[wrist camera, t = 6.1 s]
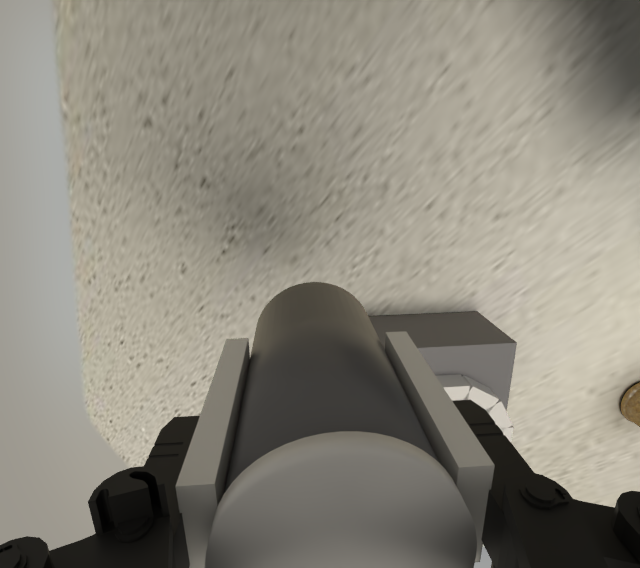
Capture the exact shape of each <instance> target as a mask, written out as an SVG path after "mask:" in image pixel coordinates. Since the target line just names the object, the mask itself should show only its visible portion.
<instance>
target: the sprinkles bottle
mask: <svg viewBox="0 0 640 568" xmlns="http://www.w3.org/2000/svg"><path fill="white" fill-rule="evenodd" d="M621 411H622V414H623V415H624V416H625V418H626V419H628V420H629V421H631V422H634V423H635V424H637V425H638V426H639V427H640V383H638V384H636V385H634V386H633V387H631V388H630V389H629V390H628V391H627V392H626V394H625V395H624V397H623V399H622V402H621Z"/></svg>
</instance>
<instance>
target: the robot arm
mask: <svg viewBox="0 0 640 568" xmlns="http://www.w3.org/2000/svg"><path fill="white" fill-rule="evenodd" d="M385 352H386V354H387V356H388V358H389V360H390V362H391V364H392V366H393V368H394V370H395V372H396V374H397V376H398V378H399V381H400V383H401V385H402V387H403V389H404V391H405V393H406V395H407V397H408V399H409V401H410V403H411V405H412V407H413V409H414V411H415V413H416V415H417V417H418V420H419V422H420V424H421V426H422V428H423V430H424V432H425V434H426V436H427V438H428V440H429V442H430V444H431V446H432V448H433V450H434V452H435V454H436V457H437V459H438V461H439V463H440V464H441V465H442V466H443V467H444V468H445V469H446V471H447V472H448V473H449V475H450V476H451V477H452V479H453V481H454V483H455V484H456V486H457V488H458V490H459V492H460V494H461V496H462V498H463V500H464V502H465V504H466V506H467V508H468V510H469V512H470V514H471V516H472V519H473V522H474V526H475V529H476V537H477V552H476V559H475V562H480V558H481V551H482V545H483V544H484V546H485V548H486V550H487V552H488V554H489V556H490V558H491V560H492V565H491V568H640V492H638V491H629V492H626V493H622V494H621V495H620V497H619V498H618V500H617V503H616V506H615V508H614V507H608V506H603V505H598V504H593V503H588V502H582V501H579V500H575V499H573V498H572V497H571V496H570V494H569V493H568V492H567V490H565V489H564V488H563V487H562V486H560V485H559V484H558V483H556V482H555V481H553V480H551V479H549V478H547V477H545V476H543V475H539V474H535V473H534V472H533V471H532V469H531V468H530V467H529V466H528V464H527V463H526V462H525V460H524V459H523V458H522V457H521V455H520V454H519V453H518V451H517V450H516V449H515V447H514V446H513V445H512V444H511V442H510V441H509V440H508V438H507V437H506V436H505V435H503V432H502V431H501V429H500V428H499V427H498V425H496V424H495V421H494V420H493V419H492V418H491V416H490V415H489V414H488V412H487V411H486V410H485V409H484V408H482V407H481V406H479V405H478V404H476V403H475V402H473V401H472V400H455V401H452V400H451V398H450V397H449V395H448V394H447V392H446V391H445V389H444V388H443V386H442V385H441V383H440V382H439V380H438V379H437V377H436V376H435V374H434V373H433V371H432V370H431V368H430V367H429V365H428V364H427V362H426V361H425V359H424V358H423V356H422V355H421V353H420V352H419V350H418V349H417V347H416V346H415V344H414V343H413V341H412V339H411V338H410V336H409V335H408V333H407V332H406V331H402V332H386V335H385ZM249 362H250V355H249V342H248V338H240V339H227V340H226V342H225V345H224V348H223V351H222V354H221V357H220V360H219V363H218V365H217V368H216V371H215V374H214V377H213V380H212V383H211V386H210V388H209V391H208V394H207V397H206V400H205V403H204V406H203V409H202V411H201V414H200V416H188V417H174V418H173V419H172V420H171V421H170V422H169V423H168V424H167V425H166V426H165V427H164V428H163V429H161V431H160V433H159V436H158V438H157V440H156V442H155V446H154V447H153V448H152V450H151V452H150V455H149V459H147V461H146V463H145V465H144V466H143V467H133V468H129V469H126V470H123V471H120V472H118V473H116V474H114V475H112V476H111V477H110V478H108V479H106V480H104V481H103V482H102V483H101V484H100V485H99V486H98V487H97V488H96V489H95V490H94V491H93V493H92V496H91V497H90V499H89V501H88V504H89V508H90V512H91V516H92V520H93V524H94V527H95V532H96V534H94V535H92V536H90V537H87V538H85V539H83V540H80V541H77V542H74V543H71V544H68V545H65V546H63V547H60V548H57V549H54V550H51V551H49V550H48V546H47V544H46V543H45V542H44V541H43V540H41V539H40V538H36V537H23V538H18V539H14V540H11V541H8V542H6V543H4V544H2V545H0V568H205V558H206V550H207V546H208V541H209V536H210V531H211V527H212V522H213V519H214V515H215V512H216V509H217V507H218V505H219V503H220V501H221V499H222V497H223V493H224V488H225V483H226V478H227V473H228V468H229V463H230V458H231V453H232V448H233V443H234V438H235V433H236V428H237V423H238V418H239V412H240V407H241V402H242V397H243V392H244V387H245V382H246V377H247V372H248V367H249Z"/></svg>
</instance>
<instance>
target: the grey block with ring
mask: <svg viewBox="0 0 640 568" xmlns="http://www.w3.org/2000/svg"><path fill="white" fill-rule="evenodd" d="M368 317H369V319H370V321H371V323H372V325H373V327H374V329H375V331H376V333H377V335H378V337H379V339H380V342H381V344H382V346H383V348H384V350H385V335H386V332H402V331H406V332H407V333H408V335H409V336H410V338H411V339H412V341H413V343H414V344H415V346H416V347H417V349H418V350H419V352H420V353H421V355H422V356H423V358H424V359H425V361H426V362H427V364H428V365H429V367H430V368H431V370H432V371H433V373H434V374H435V376H436V377H437V379H438V380H439V382H440V383H441V385H442V386H443V388H444V389H445V391H446V392H447V394H448V395H449V397H450V398H451V400H452V401H455V400H472V401H473V402H475V403H476V404H478V405H479V406H481V407H482V408H484V409H485V410H486V411H487V412H488V414H489V415H490V416H491V418H492V419H493V420H494V421H495V424H496V425H498V427H499V428H500V429H501V431H502V432H503V435H505V436H506V437H507V438H508V440H509V441H510V442H512V436H513V429H514V427H513V426H512V425H513V423H512V421H511V419H510V417H509V415H508V413H507V404H508V397H509V391H510V384H511V378H512V371H513V364H514V358H515V351H516V345H517V343H516V342H515V341H514V340H513V339H511V338H510V337H509V336H507V335H506V334H505V333H504V332H502V331H501V330H500V329H499V328H497V327H496V326H495V325H494V324H492V323H491V322H490V321H489V320H487V319H486V318H485V317H484V316H482V315H481V314H480V313H479V312H477V311H476V312H453V313H431V314H409V315H386V316H368Z"/></svg>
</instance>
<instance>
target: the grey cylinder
mask: <svg viewBox="0 0 640 568" xmlns="http://www.w3.org/2000/svg"><path fill="white" fill-rule="evenodd" d="M476 552H477V537H476V529H475V526H474V522H473V519H472V516H471V514H470V512H469V510H468V508H467V506H466V504H465V502H464V500H463V498H462V496H461V494H460V492H459V490H458V488H457V486H456V484H455V483H454V481H453V479H452V477H451V476H450V475H449V473H448V472H447V471H446V469H445V468H444V467H443V466H442V465H441V464H440V463H439V461H438V459H437V457H436V454H435V452H434V450H433V448H432V446H431V444H430V442H429V440H428V438H427V436H426V434H425V432H424V430H423V428H422V426H421V424H420V422H419V420H418V417H417V415H416V413H415V411H414V409H413V407H412V405H411V403H410V401H409V399H408V397H407V395H406V393H405V391H404V389H403V387H402V385H401V383H400V381H399V378H398V376H397V374H396V372H395V370H394V368H393V366H392V364H391V362H390V360H389V358H388V356H387V354H386V352H385V350H384V348H383V346H382V344H381V342H380V339H379V337H378V335H377V333H376V331H375V329H374V327H373V325H372V323H371V321H370V319H369V317H368V315H367V313H366V311H365V309H364V307H363V306H362V305H361V303H360V302H359V301H358V300H357V299H356V298H355V297H354V296H353V295H352V294H350V293H349V292H347V291H346V290H344V289H342V288H340V287H338V286H335V285H332V284H328V283H321V282H310V283H303V284H298V285H295V286H292V287H290V288H288V289H286V290H284V291H282V292H281V293H279V294H278V295H276V296H275V297H274V298H273V299H272V300H271V301H270V302H269V303H268V304H267V305H266V307H265V308H264V310H263V311H262V313H261V315H260V317H259V320H258V323H257V327H256V332H255V337H254V342H253V347H252V352H251V357H250V362H249V367H248V372H247V377H246V382H245V387H244V392H243V397H242V402H241V407H240V412H239V418H238V423H237V428H236V433H235V438H234V443H233V448H232V453H231V458H230V463H229V468H228V473H227V478H226V483H225V488H224V493H223V497H222V499H221V501H220V503H219V505H218V507H217V509H216V512H215V515H214V519H213V522H212V527H211V531H210V536H209V541H208V546H207V550H206V558H205V568H473V567H474V563H475V559H476Z"/></svg>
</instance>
